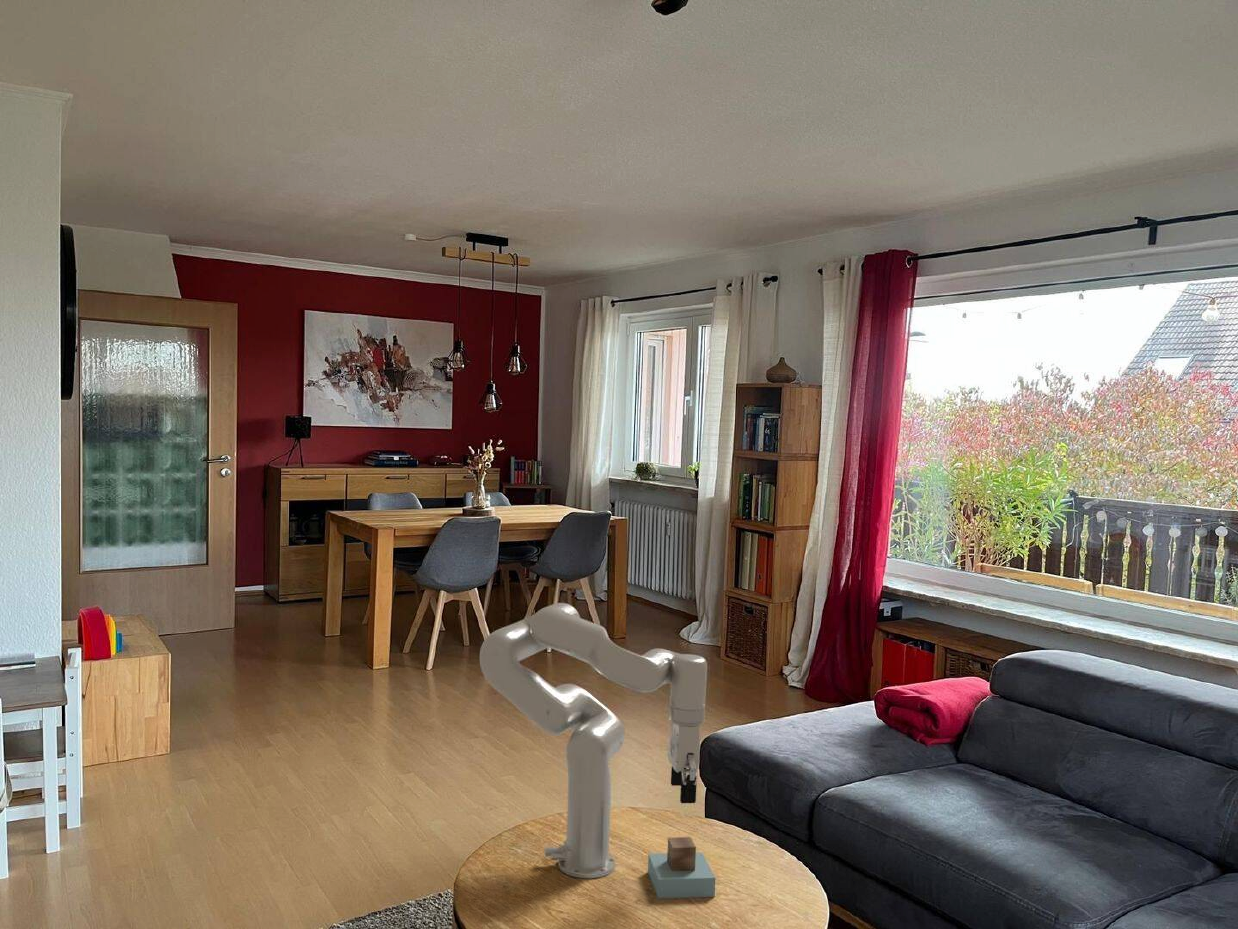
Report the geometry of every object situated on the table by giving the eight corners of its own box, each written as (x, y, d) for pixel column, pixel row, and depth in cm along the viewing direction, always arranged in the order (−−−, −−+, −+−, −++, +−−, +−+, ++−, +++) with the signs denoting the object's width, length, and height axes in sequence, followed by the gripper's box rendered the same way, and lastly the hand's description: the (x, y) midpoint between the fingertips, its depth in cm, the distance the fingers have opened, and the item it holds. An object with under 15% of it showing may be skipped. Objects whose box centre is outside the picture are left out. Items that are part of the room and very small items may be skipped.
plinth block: (657, 898, 193) (658, 879, 193) (647, 872, 205) (648, 854, 205) (714, 897, 195) (715, 878, 194) (701, 870, 206) (702, 852, 206)
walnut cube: (671, 871, 197) (672, 848, 197) (667, 860, 202) (668, 837, 202) (695, 870, 197) (695, 847, 197) (689, 860, 202) (690, 837, 202)
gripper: (661, 702, 207) (658, 779, 207) (678, 726, 190) (673, 810, 190) (695, 702, 208) (691, 779, 208) (714, 727, 191) (709, 810, 191)
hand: (682, 793), depth 199 cm, fingers open, 9 cm apart
